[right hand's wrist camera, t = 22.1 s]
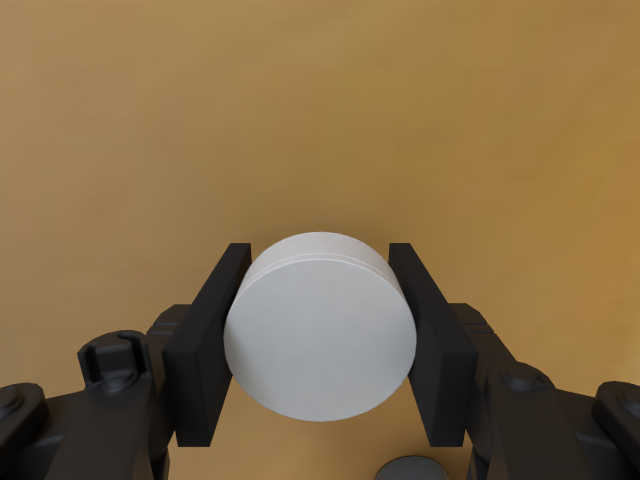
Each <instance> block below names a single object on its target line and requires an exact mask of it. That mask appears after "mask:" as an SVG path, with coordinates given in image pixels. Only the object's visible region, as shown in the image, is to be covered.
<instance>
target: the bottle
mask: <svg viewBox="0 0 640 480" xmlns="http://www.w3.org/2000/svg"><path fill="white" fill-rule="evenodd" d="M375 480H449V478H448V475H447V473H446V471H445V469H444V468H443V467H442V466H441V465H440V464H439V463H438V462H436V461H434V460H432V459H429V458H426V457H420V456H409V457H403V458H399V459H396V460H394V461H392V462H390V463H388V464H387V465H385V466H384V467H383V468H382V469H381V470H380V471H379V472H378V474H377V476H376V478H375Z"/></svg>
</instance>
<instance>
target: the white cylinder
mask: <svg viewBox="0 0 640 480" xmlns="http://www.w3.org/2000/svg"><path fill="white" fill-rule="evenodd" d="M223 339H224V349H225V357H226V361H227V363H228V366H229V369H230V371H231V373H232V374H233V376H234V378H235V380H236V381H237V382H238V384H239V385H240V386H241V388H242V389H243V390H244V391H245V392H246V393H247V394H248V395H249V396H250V397H251V398H253V399H254V400H255V401H256V402H258V403H259V404H261V405H262V406H264V407H266V408H267V409H269V410H271V411H274V412H276V413H278V414H281V415H284V416H286V417H290V418H294V419H298V420H305V421H317V422H325V421H336V420H342V419H347V418H350V417H354V416H357V415H360V414H362V413H365V412H367V411H369V410H371V409H373V408H375V407H376V406H378V405H379V404H381V403H382V402H384V401H385V400H386V399H388V398H389V397H390V396H391V395H392V394H393V393H394V392H395V391H396V390H397V389H398V388H399V387H400V385H401V384H402V383H403V381H404V380H405V378H406V377H407V375H408V373H409V371H410V369H411V367H412V364H413V361H414V358H415V351H416V342H417V332H416V326H415V322H414V319H413V316H412V313H411V310H410V308H409V306H408V303H407V301H406V299H405V297H404V294H403V292H402V290H401V287H400V285H399V283H398V280H397V278H396V276H395V274H394V272H393V270H392V269H391V267H390V266H389V265H388V263H387V262H386V261H385V260H384V258H383V257H382V256H381V255H380V254H379V253H377V252H376V251H375V250H374V249H372V248H371V247H370V246H368V245H366V244H365V243H363V242H361V241H359V240H357V239H354V238H352V237H349V236H346V235H342V234H337V233H331V232H309V233H303V234H298V235H294V236H291V237H289V238H286V239H283V240H281V241H279V242H277V243H275V244H274V245H272V246H271V247H269V248H268V249H266V250H265V251H264V252H263V253H262V254H261V255H260V256H258V257H257V259H256V260H255V261H254V262H253V263H252V265H251V266H250V268H249V269H248V271H247V273H246V274H245V277H244V279H243V281H242V284H241V286H240V288H239V290H238V293H237V295H236V297H235V300H234V302H233V304H232V307H231V309H230V311H229V313H228V316H227V319H226V323H225V327H224V335H223Z"/></svg>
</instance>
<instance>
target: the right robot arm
mask: <svg viewBox="0 0 640 480" xmlns="http://www.w3.org/2000/svg"><path fill="white" fill-rule="evenodd" d="M251 265H252V258H251V244H250V243H230V245H229V246H228V248H227V250H226V251H225V253H224V254H223V256H222V257H221V259H220V261H219V262H218V264H217V265H216V267H215V268H214V270H213V271H212V273H211V275H210V276H209V278H208V279H207V281H206V282H205V284H204V286H203V287H202V289H201V290H200V292H199V293H198V295H197V297H196V298H195V300H194V301H193V303H192V304H175V305H173V306H172V307H170V308H169V309H167V310H165V311H164V312H162V313H161V314H160V316H159V317H158V318H157V319H156V321H155V322H154V323H153V326H151V327H150V329H149V330H148V331H147V334H146V335H144V334H143V333H141V332H138V331H134V330H120V331H115V332H111V333H107V334H104V335H102V336H99V337H97V338H95V339H93V340H91V341H90V342H88V343H87V344H85V345H84V346H83V347H82V348H81V349H80V350H79V352H78V353H77V355H78V359H79V363H80V366H81V370H82V374H83V377H84V381H85V385H86V387H85V389H84V390H83V391H79V392H76V393H71V394H66V395H62V396H57V397H53V398H48V399H46V398H45V395H44V392H43V389H42V388H41V387H40V386H39V385H37V384H33V383H19V384H12V385H9V386H5V387H2V388H0V480H168V474H169V465H170V460H169V453H168V447H167V446H168V444H169V442H170V440H171V437H172V435H173V433H174V431H175V433H176V438H177V444H178V447H210V444H211V441H212V438H213V435H214V432H215V429H216V426H217V422H218V419H219V416H220V413H221V410H222V407H223V404H224V401H225V397H226V394H227V391H228V388H229V385H230V382H231V379H232V376H233V374H232V373H231V371H230V369H229V366H228V363H227V361H226V357H225V349H224V339H223V335H224V327H225V323H226V319H227V316H228V313H229V311H230V309H231V307H232V304H233V302H234V300H235V297H236V295H237V293H238V290H239V288H240V286H241V284H242V281H243V279H244V277H245V274H246V273H247V271H248V269H249V268H250V266H251ZM388 265H389V266H390V267H391V269H392V270H393V272H394V274H395V276H396V278H397V280H398V283H399V285H400V287H401V290H402V292H403V294H404V297H405V299H406V301H407V303H408V306H409V308H410V310H411V313H412V316H413V319H414V322H415V326H416V332H417V342H416V351H415V358H414V361H413V364H412V367H411V369H410V371H409V373H408V378H409V381H410V384H411V387H412V391H413V394H414V397H415V400H416V403H417V406H418V409H419V412H420V415H421V419H422V422H423V425H424V428H425V431H426V434H427V437H428V440H429V443H430V447H462V445H463V440H464V434H465V428H466V430H467V433H468V435H469V437H470V439H471V442H472V444H473V447H472V453H471V458H470V463H469V468H468V474H467V480H640V386H637V385H635V384H630V383H626V382H619V381H610V382H604V383H603V384H602V385H600V386H599V387H598V390H597V393H596V396H595V397H591V396H586V395H581V394H577V393H572V392H568V391H563V390H560V389H556V388H555V386H554V384H553V383H552V382H551V380H550V379H549V378H548V377H547V376H546V375H545V374H544V373H542V372H541V371H540V370H538V369H536V368H534V367H532V366H530V365H528V364H525V363H521V362H518V361H516V360H515V358H514V357H513V356H512V354H511V353H510V352H509V350H508V349H507V348H506V346H505V345H504V344H503V343H502V341H501V340H500V339H499V337H498V336H497V335H496V334H494V331H493V329H492V328H491V327H490V325H487V322H486V320H485V319H484V318H483V316H482V315H481V314H480V312H478V311H477V310H475V309H474V308H472V307H471V306H469V305H468V304H466V303H448V302H447V301H446V299H445V298H444V296H443V295H442V293H441V291H440V290H439V288H438V287H437V285H436V284H435V282H434V280H433V279H432V277H431V276H430V274H429V273H428V271H427V270H426V268H425V266H424V265H423V263H422V262H421V260H420V259H419V257H418V255H417V254H416V252H415V251H414V249H413V248H412V246H411V244H410V243H390V247H389V261H388Z"/></svg>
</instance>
